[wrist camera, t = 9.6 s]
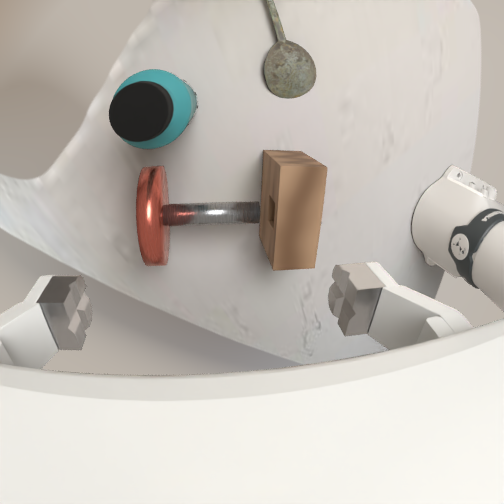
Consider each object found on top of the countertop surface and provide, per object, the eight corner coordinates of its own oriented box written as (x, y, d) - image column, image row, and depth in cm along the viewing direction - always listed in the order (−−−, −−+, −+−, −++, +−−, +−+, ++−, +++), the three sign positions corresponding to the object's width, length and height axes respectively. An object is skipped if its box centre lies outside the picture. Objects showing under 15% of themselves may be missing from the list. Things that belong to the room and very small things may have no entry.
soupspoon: (267, 104, 37) (314, 94, 37) (275, 105, 34) (325, 95, 34) (226, -43, 25) (275, -48, 26) (230, -53, 22) (283, -57, 23)
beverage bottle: (208, 111, 35) (213, 125, 18) (161, 140, 36) (123, 183, 18) (181, 68, 32) (159, 39, 14) (134, 98, 33) (70, 103, 15)
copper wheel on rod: (252, 155, 37) (270, 177, 28) (249, 235, 43) (264, 280, 33) (150, 158, 36) (132, 181, 26) (156, 239, 41) (145, 285, 31)
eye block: (301, 151, 39) (327, 167, 31) (293, 234, 45) (314, 268, 37) (263, 150, 38) (280, 165, 30) (259, 235, 44) (273, 270, 36)
